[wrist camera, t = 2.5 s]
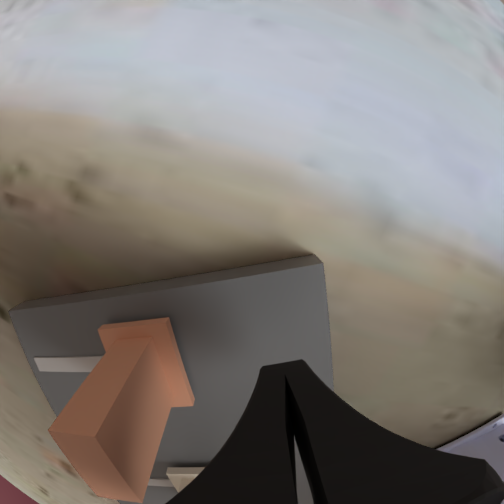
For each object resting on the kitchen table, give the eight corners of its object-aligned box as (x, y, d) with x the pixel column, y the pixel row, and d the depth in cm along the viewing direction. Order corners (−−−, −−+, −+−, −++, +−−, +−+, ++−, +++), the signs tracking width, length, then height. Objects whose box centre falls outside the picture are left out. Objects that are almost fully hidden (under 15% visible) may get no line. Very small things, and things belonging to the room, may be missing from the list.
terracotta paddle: (168, 317, 11) (111, 423, 5) (194, 398, 12) (170, 512, 6) (102, 324, 11) (22, 412, 5) (133, 401, 12) (87, 500, 6)
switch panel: (314, 254, 13) (323, 263, 11) (329, 523, 18) (332, 537, 16) (24, 301, 13) (7, 311, 11) (163, 533, 18) (160, 545, 16)
